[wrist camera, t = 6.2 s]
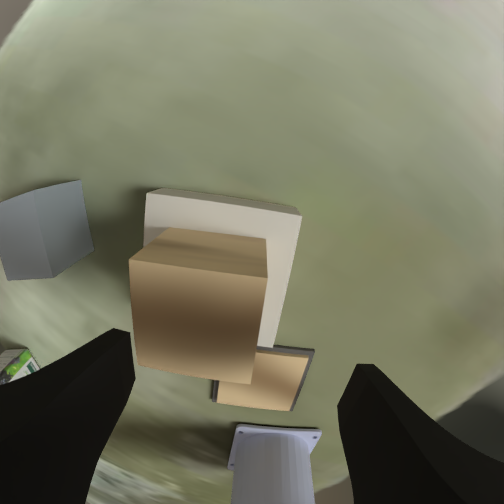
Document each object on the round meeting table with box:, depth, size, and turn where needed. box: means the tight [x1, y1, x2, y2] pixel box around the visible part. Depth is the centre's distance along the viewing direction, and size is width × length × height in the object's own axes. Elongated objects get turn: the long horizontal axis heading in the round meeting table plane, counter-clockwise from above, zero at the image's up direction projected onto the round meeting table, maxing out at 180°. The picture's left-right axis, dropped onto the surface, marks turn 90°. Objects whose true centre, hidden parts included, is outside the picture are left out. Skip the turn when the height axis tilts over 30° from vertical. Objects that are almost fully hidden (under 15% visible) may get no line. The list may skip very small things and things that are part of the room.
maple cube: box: [129, 227, 268, 384], centre depth 13 cm, size 5×5×5 cm
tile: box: [212, 345, 315, 411], centre depth 20 cm, size 7×7×1 cm
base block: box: [143, 188, 302, 348], centre depth 17 cm, size 8×8×3 cm
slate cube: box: [0, 180, 94, 281], centre depth 15 cm, size 5×5×5 cm
